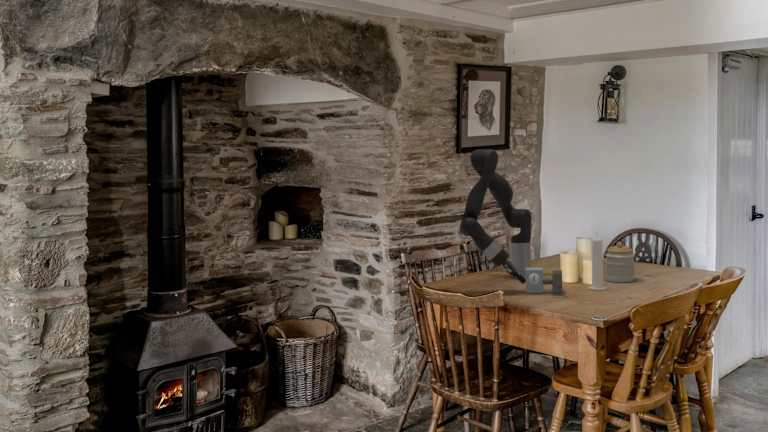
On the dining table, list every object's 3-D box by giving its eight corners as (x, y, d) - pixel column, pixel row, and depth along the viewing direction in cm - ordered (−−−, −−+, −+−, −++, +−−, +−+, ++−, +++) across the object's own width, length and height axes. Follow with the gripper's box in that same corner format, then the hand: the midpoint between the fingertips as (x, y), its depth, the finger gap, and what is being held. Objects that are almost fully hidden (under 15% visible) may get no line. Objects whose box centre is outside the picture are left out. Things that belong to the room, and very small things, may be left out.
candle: (594, 291, 311) (594, 233, 309) (586, 288, 318) (585, 231, 316) (609, 289, 313) (608, 232, 311) (600, 286, 320) (599, 230, 317)
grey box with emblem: (526, 290, 313) (526, 267, 312) (552, 290, 310) (552, 267, 309) (526, 293, 307) (525, 270, 306) (552, 293, 304) (552, 270, 303)
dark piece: (499, 291, 319) (498, 269, 318) (564, 291, 312) (564, 269, 311) (497, 297, 307) (496, 274, 306) (564, 297, 300) (564, 274, 299)
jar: (636, 283, 325) (636, 244, 323) (606, 283, 327) (606, 244, 325) (633, 277, 337) (632, 240, 335) (604, 277, 340) (603, 240, 338)
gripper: (500, 249, 304) (530, 279, 302) (503, 245, 317) (531, 273, 315) (488, 262, 306) (517, 291, 304) (491, 257, 319) (519, 285, 317)
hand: (524, 282), depth 310 cm, fingers closed
